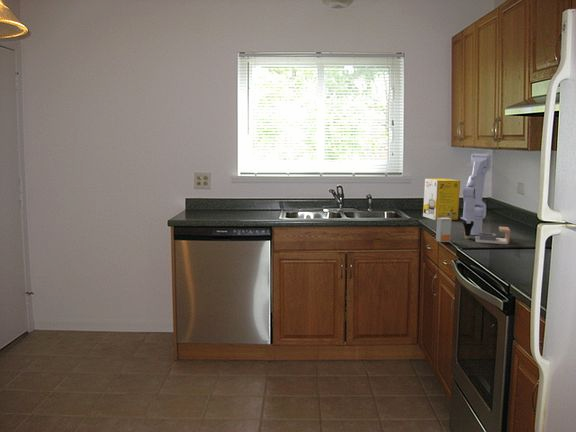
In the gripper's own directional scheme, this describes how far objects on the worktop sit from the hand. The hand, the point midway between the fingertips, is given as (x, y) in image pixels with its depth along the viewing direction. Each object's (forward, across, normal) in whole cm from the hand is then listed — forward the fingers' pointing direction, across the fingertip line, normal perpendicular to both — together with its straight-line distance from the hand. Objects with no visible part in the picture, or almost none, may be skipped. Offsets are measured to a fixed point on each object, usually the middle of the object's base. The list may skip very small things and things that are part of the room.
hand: (467, 235), depth 318 cm
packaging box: (+2, -75, -16) cm, 77 cm away
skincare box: (+2, +15, -12) cm, 19 cm away
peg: (+2, 0, 0) cm, 2 cm away
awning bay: (+2, +4, +12) cm, 13 cm away
